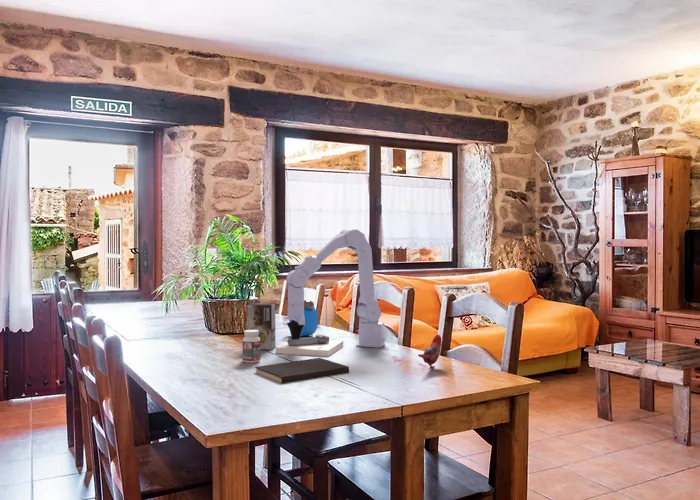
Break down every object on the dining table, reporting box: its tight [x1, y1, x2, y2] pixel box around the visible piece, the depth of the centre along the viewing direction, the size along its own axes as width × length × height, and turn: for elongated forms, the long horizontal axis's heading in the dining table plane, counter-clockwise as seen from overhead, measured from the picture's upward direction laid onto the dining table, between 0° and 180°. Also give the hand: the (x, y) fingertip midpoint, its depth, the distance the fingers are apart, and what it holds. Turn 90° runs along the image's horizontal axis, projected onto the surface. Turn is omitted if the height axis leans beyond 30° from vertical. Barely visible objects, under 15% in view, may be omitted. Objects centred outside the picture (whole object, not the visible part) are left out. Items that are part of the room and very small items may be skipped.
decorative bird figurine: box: [417, 334, 442, 370], centre depth 177 cm, size 3×18×10 cm, turn 149°
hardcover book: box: [254, 357, 350, 385], centre depth 173 cm, size 16×23×2 cm
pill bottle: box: [241, 329, 261, 364], centre depth 188 cm, size 6×6×10 cm
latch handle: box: [287, 334, 330, 346], centre depth 208 cm, size 15×4×2 cm, turn 115°
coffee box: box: [246, 302, 277, 350], centre depth 211 cm, size 9×6×16 cm
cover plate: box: [275, 339, 344, 357], centre depth 208 cm, size 19×19×2 cm
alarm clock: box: [288, 299, 319, 337], centre depth 237 cm, size 13×6×15 cm, turn 38°
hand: (295, 342), depth 207 cm, fingers closed
